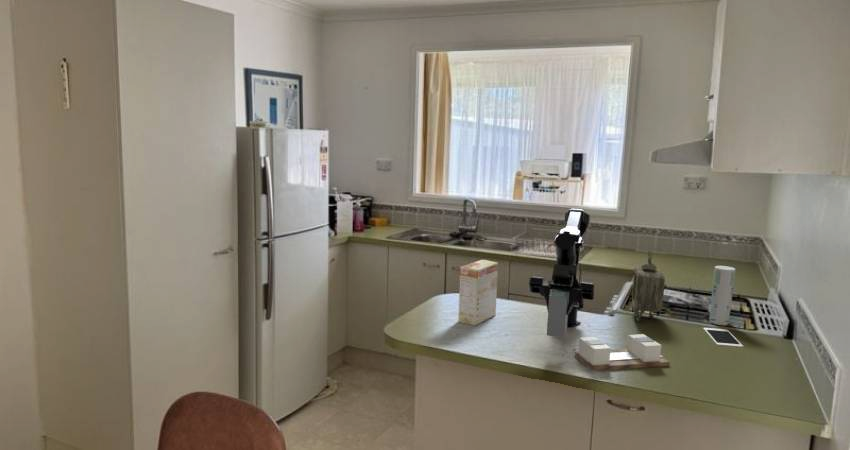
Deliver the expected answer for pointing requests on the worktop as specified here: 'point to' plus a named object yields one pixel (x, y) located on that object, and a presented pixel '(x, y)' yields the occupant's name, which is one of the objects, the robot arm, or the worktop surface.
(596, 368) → the rail board
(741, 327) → the worktop surface
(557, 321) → the block
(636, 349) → the mounted modules
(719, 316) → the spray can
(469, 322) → the coffeecake box
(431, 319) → the worktop surface
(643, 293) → the mop head
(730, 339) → the cell phone
